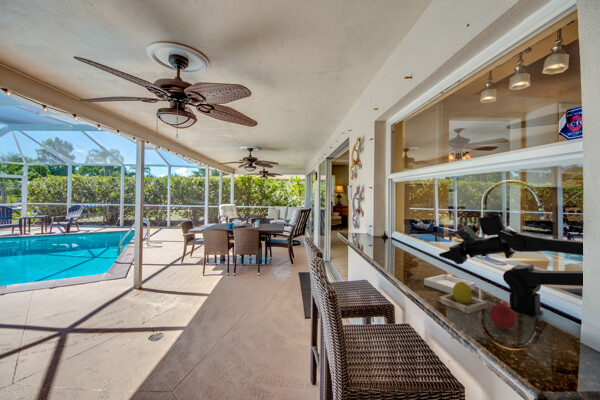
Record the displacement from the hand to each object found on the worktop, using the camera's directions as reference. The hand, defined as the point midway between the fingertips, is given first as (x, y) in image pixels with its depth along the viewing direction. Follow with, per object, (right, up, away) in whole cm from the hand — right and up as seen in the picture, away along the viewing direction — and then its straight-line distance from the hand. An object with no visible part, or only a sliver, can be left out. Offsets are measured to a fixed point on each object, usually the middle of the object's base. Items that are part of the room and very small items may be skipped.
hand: (444, 251), depth 100 cm
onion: (-2, -15, -31) cm, 35 cm away
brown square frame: (-3, -15, -15) cm, 22 cm away
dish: (+3, -15, +1) cm, 15 cm away
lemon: (-3, -15, -15) cm, 22 cm away
